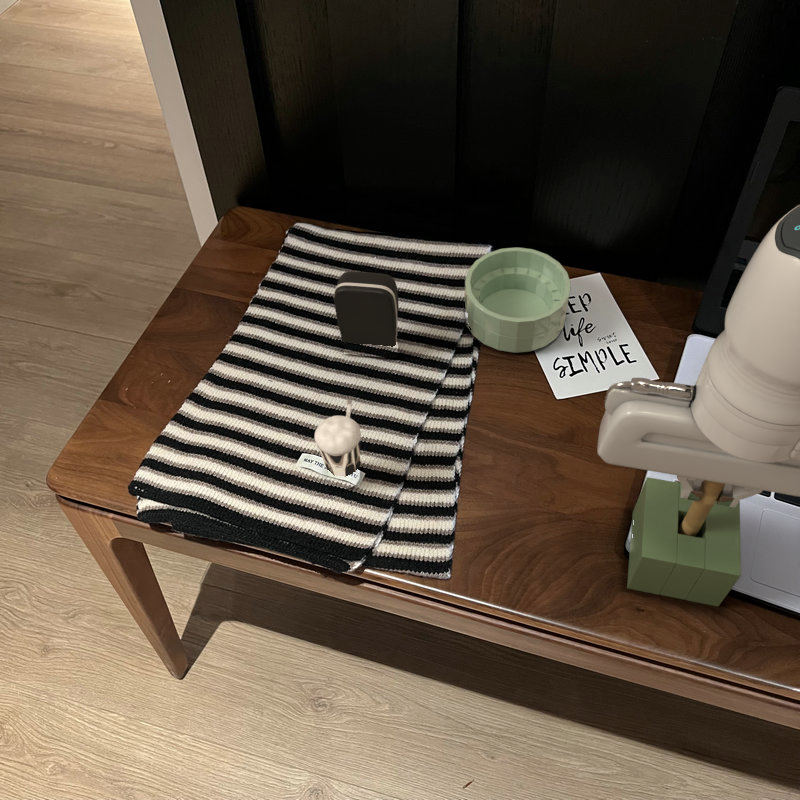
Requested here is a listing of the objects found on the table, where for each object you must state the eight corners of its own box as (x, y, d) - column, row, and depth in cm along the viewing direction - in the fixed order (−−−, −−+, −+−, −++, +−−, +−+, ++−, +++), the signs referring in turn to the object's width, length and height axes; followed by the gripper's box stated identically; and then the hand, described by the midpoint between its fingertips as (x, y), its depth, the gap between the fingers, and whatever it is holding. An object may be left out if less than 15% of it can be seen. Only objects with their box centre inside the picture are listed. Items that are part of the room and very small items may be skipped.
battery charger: (403, 337, 95) (399, 268, 86) (398, 361, 93) (393, 293, 83) (347, 332, 96) (337, 263, 87) (341, 356, 93) (330, 288, 84)
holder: (718, 528, 78) (739, 493, 72) (718, 606, 73) (741, 575, 67) (632, 512, 79) (646, 476, 74) (626, 588, 74) (641, 556, 69)
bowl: (569, 290, 98) (575, 254, 94) (557, 362, 91) (564, 328, 87) (474, 277, 100) (475, 241, 96) (455, 347, 93) (456, 313, 89)
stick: (682, 552, 76) (730, 465, 64) (681, 566, 75) (730, 482, 63) (665, 548, 77) (709, 462, 64) (664, 563, 76) (709, 478, 63)
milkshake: (377, 461, 84) (370, 407, 76) (355, 501, 81) (345, 449, 73) (340, 448, 85) (329, 392, 78) (317, 486, 83) (303, 433, 75)
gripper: (607, 409, 55) (580, 505, 66) (920, 460, 52) (836, 552, 63) (614, 344, 59) (587, 444, 70) (907, 386, 55) (830, 485, 66)
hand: (707, 496), depth 66 cm, fingers closed on stick, 1 cm apart
